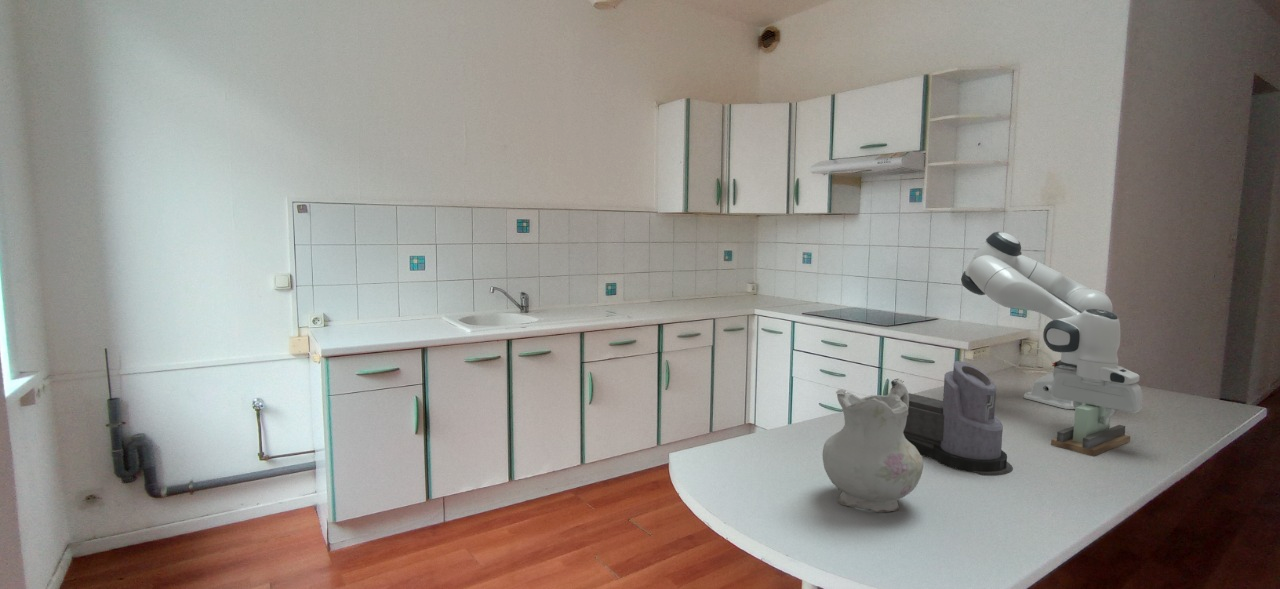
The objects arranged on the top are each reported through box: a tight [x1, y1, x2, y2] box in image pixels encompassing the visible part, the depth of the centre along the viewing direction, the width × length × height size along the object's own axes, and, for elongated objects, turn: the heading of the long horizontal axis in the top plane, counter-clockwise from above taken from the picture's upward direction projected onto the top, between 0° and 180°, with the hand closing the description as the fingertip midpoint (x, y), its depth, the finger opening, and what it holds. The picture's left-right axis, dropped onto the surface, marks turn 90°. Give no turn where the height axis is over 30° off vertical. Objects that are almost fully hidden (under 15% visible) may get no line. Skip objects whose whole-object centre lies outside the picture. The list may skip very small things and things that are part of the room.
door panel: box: [1073, 404, 1111, 443], centre depth 169 cm, size 3×14×9 cm, turn 123°
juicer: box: [903, 360, 1014, 477], centre depth 158 cm, size 30×16×24 cm, turn 36°
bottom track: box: [1050, 424, 1131, 457], centre depth 169 cm, size 10×22×4 cm, turn 123°
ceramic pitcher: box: [822, 378, 924, 513], centre depth 131 cm, size 22×20×25 cm
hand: (1092, 421), depth 169 cm, fingers open, 4 cm apart
